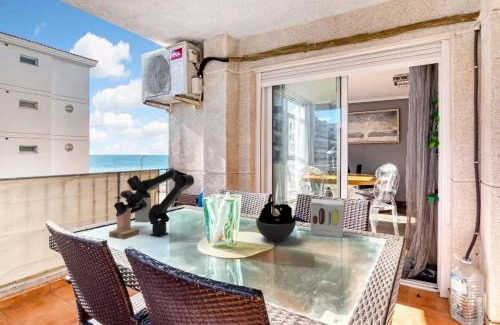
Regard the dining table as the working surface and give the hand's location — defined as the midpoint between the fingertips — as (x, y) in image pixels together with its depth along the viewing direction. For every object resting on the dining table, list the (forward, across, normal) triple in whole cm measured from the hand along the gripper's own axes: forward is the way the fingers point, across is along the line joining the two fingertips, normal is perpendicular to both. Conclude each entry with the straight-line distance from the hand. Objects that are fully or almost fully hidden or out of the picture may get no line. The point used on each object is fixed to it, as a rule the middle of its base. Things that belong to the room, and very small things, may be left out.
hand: (123, 214), depth 158 cm
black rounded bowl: (-54, -20, +64) cm, 86 cm away
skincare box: (+9, -19, +3) cm, 21 cm away
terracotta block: (+5, 0, +6) cm, 8 cm away
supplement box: (-69, -46, +79) cm, 115 cm away
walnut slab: (-3, +10, +14) cm, 17 cm away
